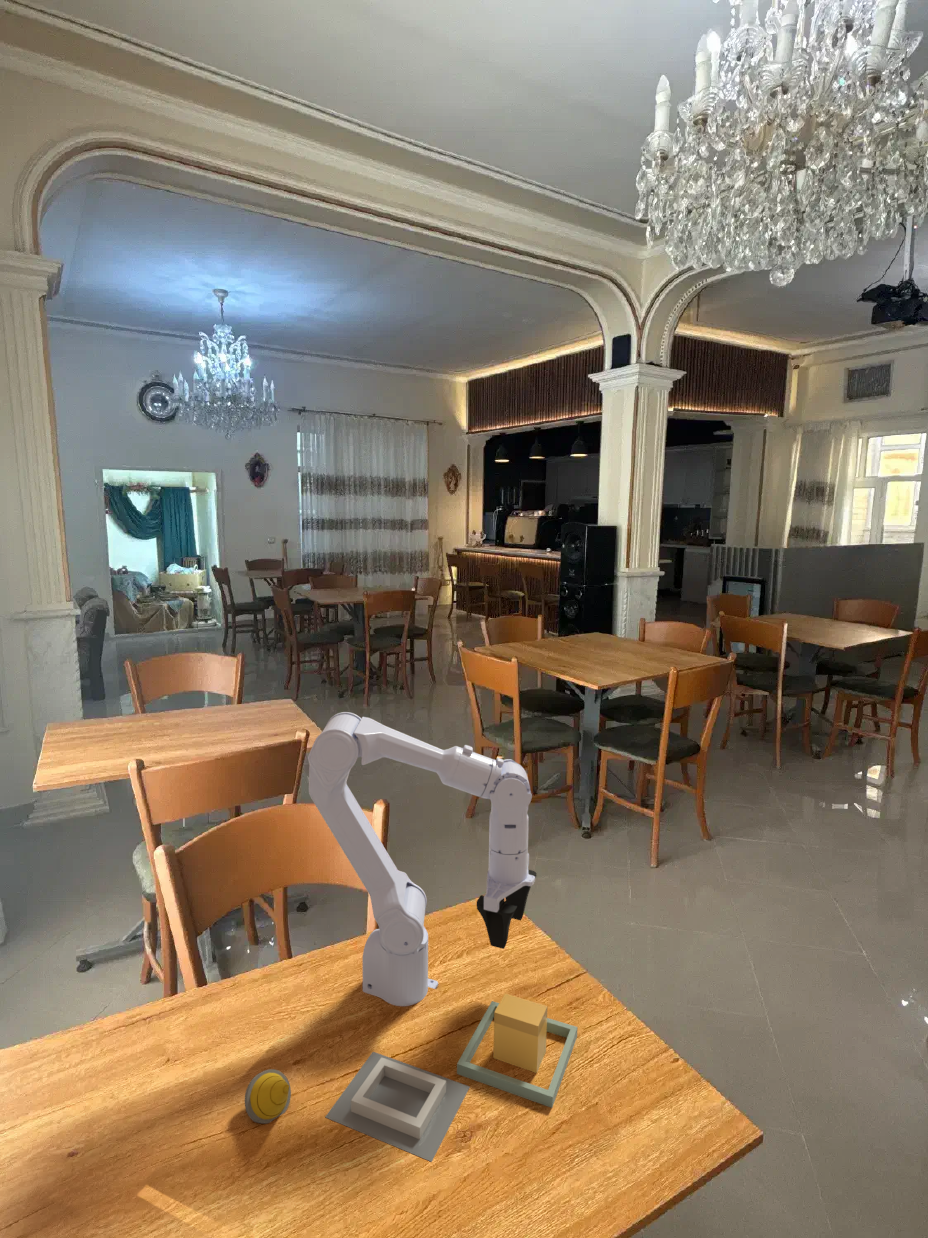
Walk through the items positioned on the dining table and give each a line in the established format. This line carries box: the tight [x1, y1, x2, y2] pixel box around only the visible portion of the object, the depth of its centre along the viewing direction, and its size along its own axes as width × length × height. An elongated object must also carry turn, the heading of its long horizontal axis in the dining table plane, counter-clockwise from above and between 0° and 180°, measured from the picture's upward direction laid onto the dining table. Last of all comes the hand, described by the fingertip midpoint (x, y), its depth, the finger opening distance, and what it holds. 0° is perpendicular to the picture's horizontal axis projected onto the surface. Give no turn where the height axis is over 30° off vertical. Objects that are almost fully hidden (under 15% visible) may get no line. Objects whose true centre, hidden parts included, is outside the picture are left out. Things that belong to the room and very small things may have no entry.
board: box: [324, 1051, 470, 1163], centre depth 82 cm, size 14×11×2 cm
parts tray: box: [456, 1000, 578, 1109], centre depth 90 cm, size 13×13×2 cm
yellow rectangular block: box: [492, 992, 548, 1074], centre depth 89 cm, size 6×4×7 cm, turn 66°
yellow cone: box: [244, 1068, 292, 1125], centre depth 80 cm, size 5×5×10 cm
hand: (506, 931), depth 101 cm, fingers open, 7 cm apart
